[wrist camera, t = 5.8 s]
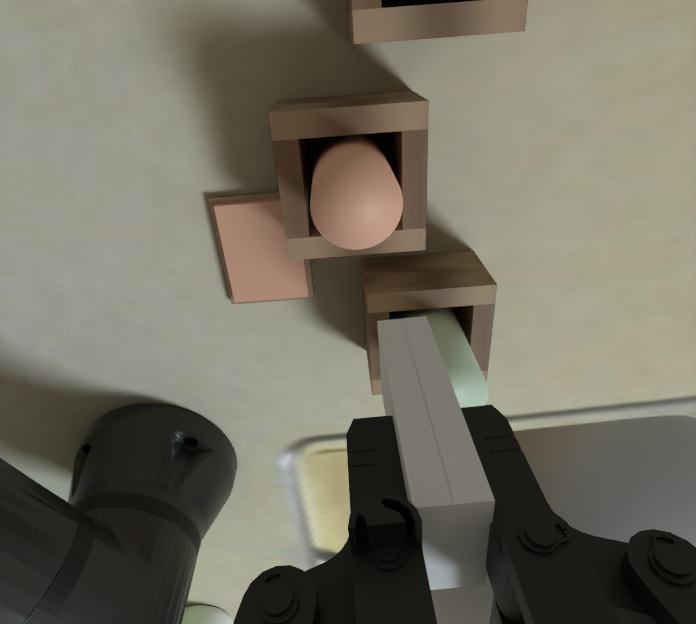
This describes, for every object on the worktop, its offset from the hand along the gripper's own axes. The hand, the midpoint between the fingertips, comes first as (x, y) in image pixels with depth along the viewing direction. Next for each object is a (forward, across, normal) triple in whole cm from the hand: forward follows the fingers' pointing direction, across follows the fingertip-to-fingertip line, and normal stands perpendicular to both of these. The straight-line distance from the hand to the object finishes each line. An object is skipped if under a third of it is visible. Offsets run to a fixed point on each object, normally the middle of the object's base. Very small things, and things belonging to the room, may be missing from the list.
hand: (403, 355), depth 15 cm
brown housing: (+22, -1, +1) cm, 22 cm away
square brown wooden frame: (+22, +4, -11) cm, 25 cm away
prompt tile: (+22, -8, -5) cm, 24 cm away
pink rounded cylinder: (+22, -1, +1) cm, 22 cm away
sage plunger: (+19, +4, -11) cm, 23 cm away
